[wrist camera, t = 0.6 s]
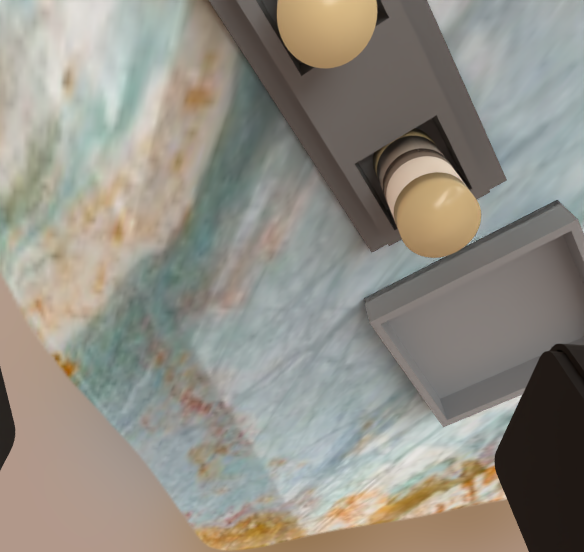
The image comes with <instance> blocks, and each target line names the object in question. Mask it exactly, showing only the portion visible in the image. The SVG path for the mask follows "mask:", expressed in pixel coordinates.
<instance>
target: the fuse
mask: <svg viewBox="0 0 584 552" xmlns="http://www.w3.org/2000/svg"><path fill="white" fill-rule="evenodd" d="M376 21H377V1H376V0H278V1H277V23H278V28H279V33H280V35H281V38H282V40H283V42H284V44H285V46H286V47H287V48H288V50H289V51H290V52H291V53H292V54H293V55H294V56H295V57H296V58H297V59H298V60H300V61H301V62H303V63H305V64H307V65H309V66H313V67H316V68H334V67H338V66H341V65H344V64H346V63H348V62H350V61H351V60H353V59H354V58H355V57H357V56H358V55H359V54H360V53H361V52H362V51H363V49H364V48H365V47H366V46H367V44H368V42H369V41H370V39H371V37H372V35H373V32H374V29H375V25H376Z"/></svg>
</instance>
